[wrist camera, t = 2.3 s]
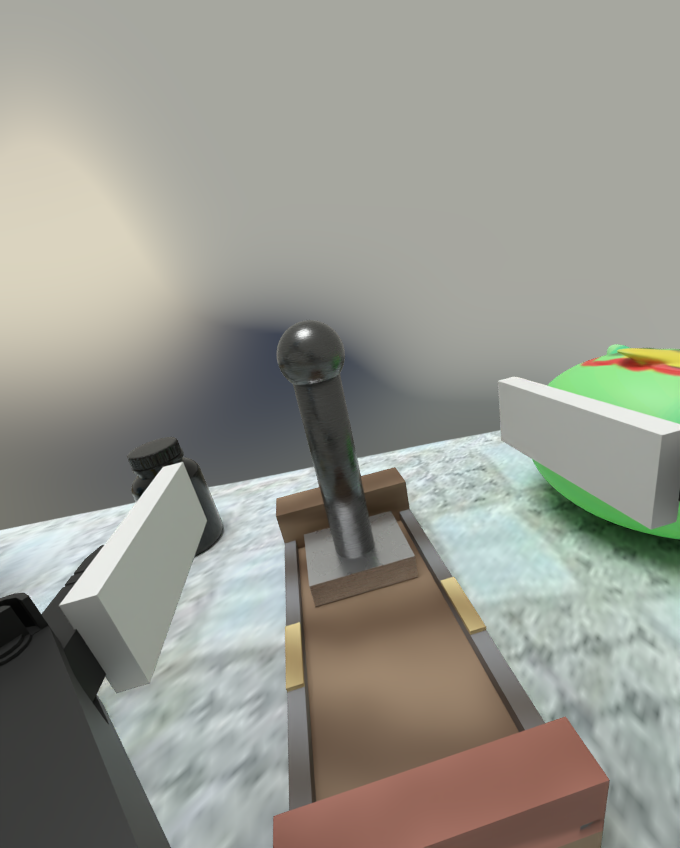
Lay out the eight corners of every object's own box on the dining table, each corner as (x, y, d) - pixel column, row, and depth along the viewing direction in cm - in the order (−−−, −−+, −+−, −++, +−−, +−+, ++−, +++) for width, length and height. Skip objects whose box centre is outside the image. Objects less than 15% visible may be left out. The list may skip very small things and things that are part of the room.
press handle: (309, 552, 31) (244, 331, 24) (393, 528, 32) (354, 307, 25) (315, 606, 26) (234, 339, 19) (418, 576, 26) (376, 307, 19)
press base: (290, 543, 35) (276, 498, 33) (402, 513, 36) (395, 467, 34) (308, 960, 13) (268, 895, 11) (600, 849, 14) (610, 772, 12)
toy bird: (491, 499, 36) (483, 358, 30) (597, 444, 41) (606, 317, 36) (742, 637, 20) (814, 393, 15) (860, 517, 25) (943, 309, 20)
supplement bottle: (176, 527, 42) (137, 439, 38) (230, 516, 42) (197, 427, 38) (151, 568, 36) (100, 468, 32) (214, 555, 36) (172, 453, 32)
